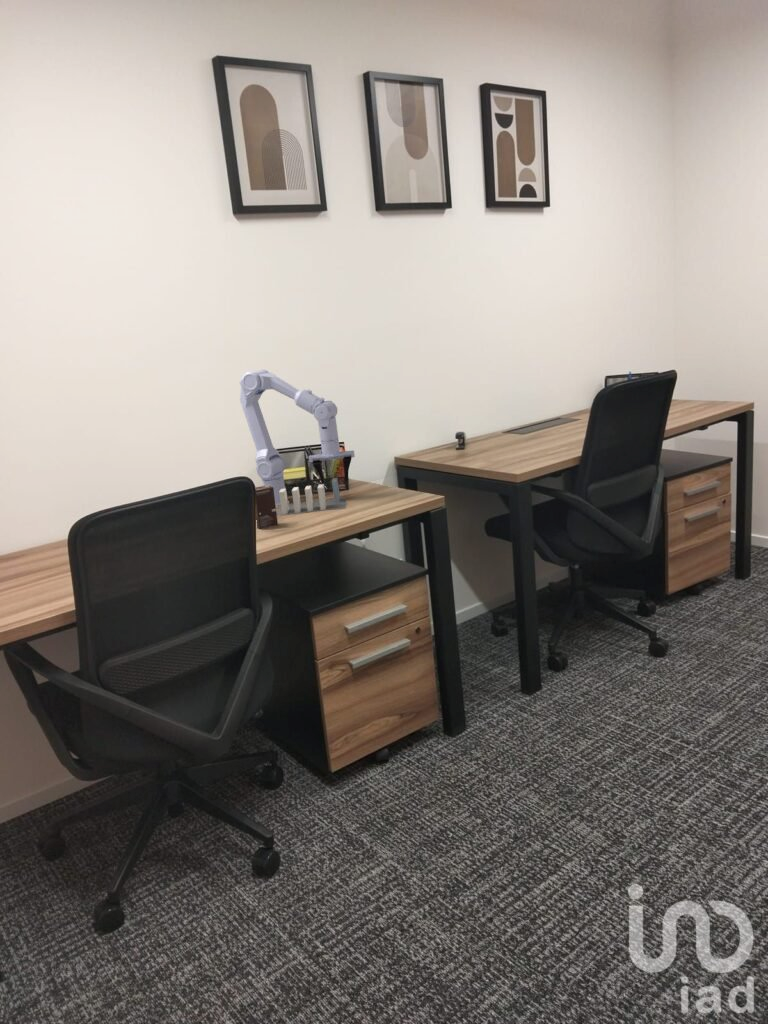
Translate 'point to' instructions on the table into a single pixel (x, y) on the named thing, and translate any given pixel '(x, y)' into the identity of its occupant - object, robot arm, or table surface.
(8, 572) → the table surface
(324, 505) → the tile
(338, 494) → the end tile
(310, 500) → the tile
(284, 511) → the tile
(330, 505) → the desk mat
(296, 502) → the tile
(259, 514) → the box
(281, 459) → the robot arm
